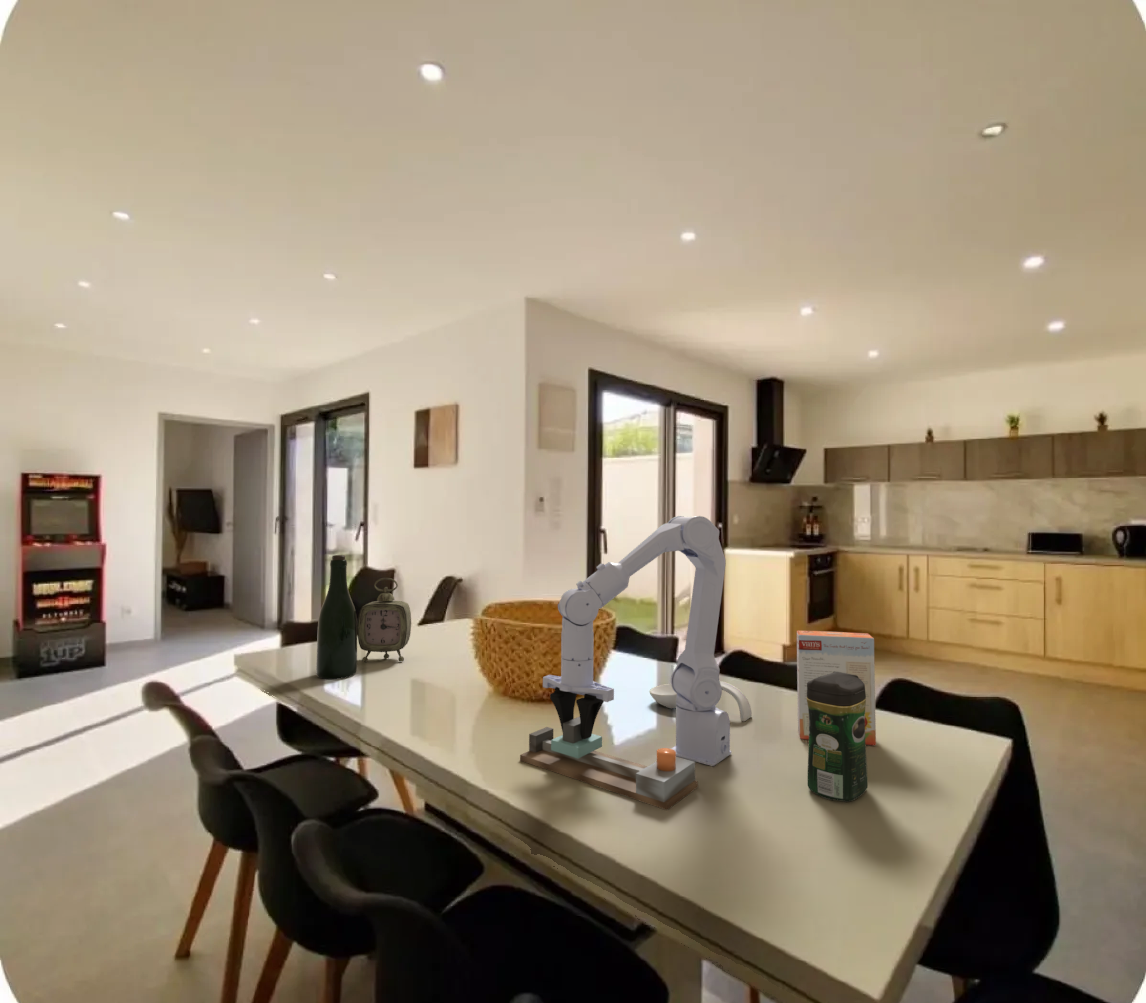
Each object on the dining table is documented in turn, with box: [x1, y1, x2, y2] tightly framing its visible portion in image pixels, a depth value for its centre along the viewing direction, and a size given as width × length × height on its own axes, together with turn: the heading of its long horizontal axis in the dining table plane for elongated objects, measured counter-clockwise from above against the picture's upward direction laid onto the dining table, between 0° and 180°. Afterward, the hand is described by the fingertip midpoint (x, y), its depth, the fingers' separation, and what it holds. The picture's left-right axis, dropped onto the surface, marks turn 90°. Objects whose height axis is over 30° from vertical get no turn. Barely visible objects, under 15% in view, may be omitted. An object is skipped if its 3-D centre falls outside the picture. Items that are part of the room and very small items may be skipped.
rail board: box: [519, 726, 699, 811], centre depth 106 cm, size 30×10×4 cm, turn 52°
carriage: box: [551, 715, 603, 758], centre depth 109 cm, size 6×7×5 cm
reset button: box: [656, 747, 677, 771], centre depth 98 cm, size 3×3×2 cm
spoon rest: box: [648, 680, 753, 722], centre depth 141 cm, size 24×12×7 cm, turn 54°
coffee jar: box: [807, 671, 869, 803], centre depth 100 cm, size 10×8×19 cm
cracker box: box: [796, 630, 877, 746], centre depth 124 cm, size 14×6×21 cm, turn 74°
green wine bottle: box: [315, 554, 358, 680], centre depth 170 cm, size 10×10×33 cm
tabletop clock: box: [357, 577, 412, 663], centre depth 188 cm, size 14×9×25 cm, turn 95°
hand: (576, 734), depth 109 cm, fingers open, 4 cm apart
